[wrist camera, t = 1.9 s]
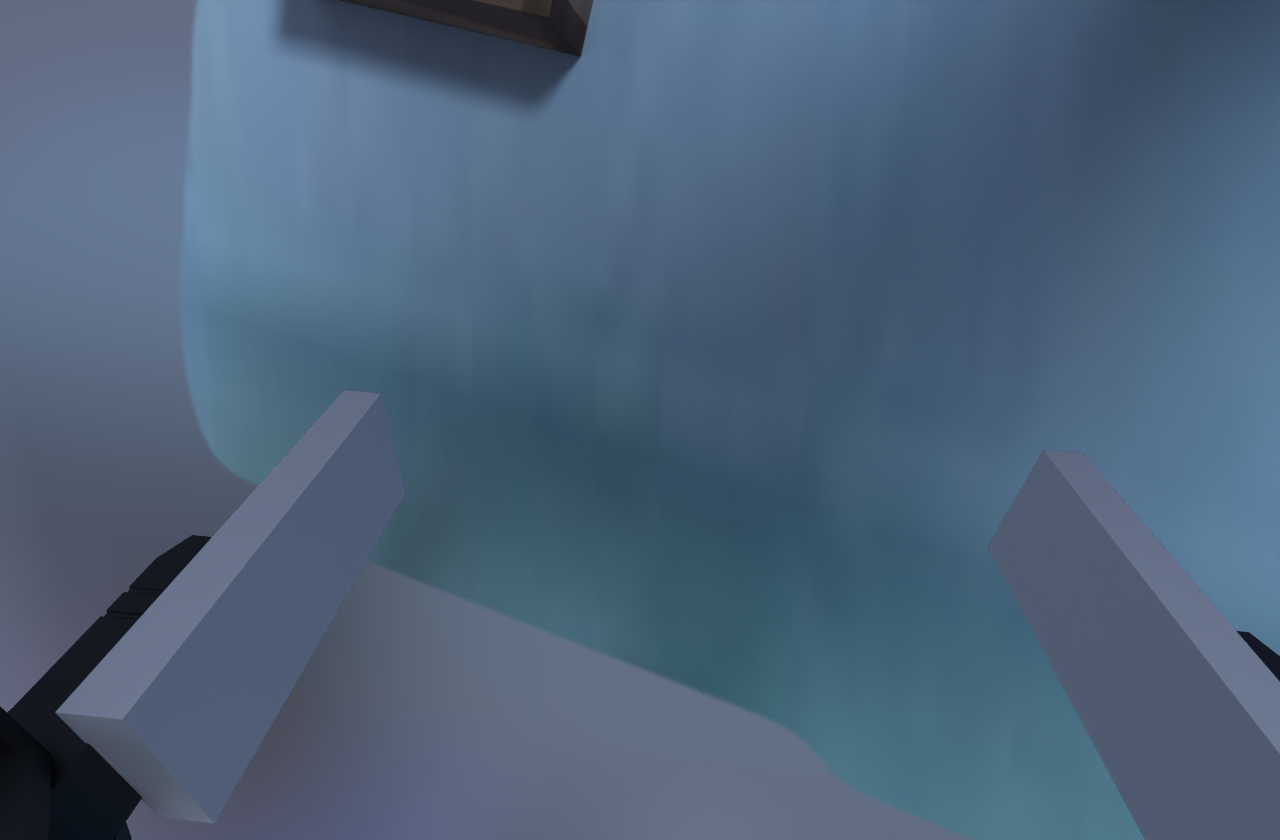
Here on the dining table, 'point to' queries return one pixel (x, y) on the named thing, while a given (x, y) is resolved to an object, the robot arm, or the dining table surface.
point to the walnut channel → (504, 18)
